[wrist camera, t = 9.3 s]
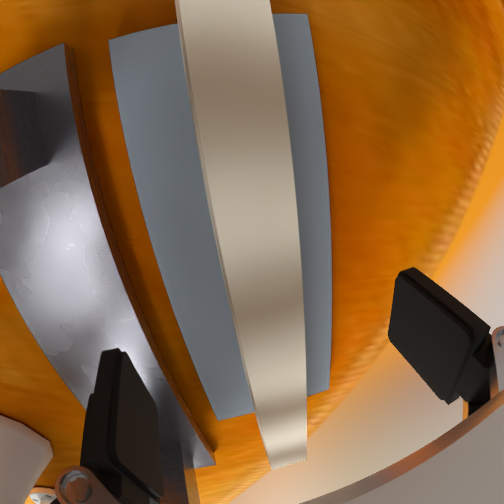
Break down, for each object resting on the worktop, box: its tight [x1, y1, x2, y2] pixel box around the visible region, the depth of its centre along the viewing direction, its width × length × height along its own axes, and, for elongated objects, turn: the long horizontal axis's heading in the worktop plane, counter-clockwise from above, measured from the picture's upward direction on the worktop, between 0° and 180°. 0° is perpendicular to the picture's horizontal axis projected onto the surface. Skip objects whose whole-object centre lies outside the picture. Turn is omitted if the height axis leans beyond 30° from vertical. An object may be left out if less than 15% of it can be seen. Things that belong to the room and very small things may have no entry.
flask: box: [0, 415, 54, 504], centre depth 12 cm, size 7×7×10 cm
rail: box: [175, 0, 307, 470], centre depth 12 cm, size 28×2×3 cm, turn 8°
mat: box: [108, 14, 332, 421], centre depth 14 cm, size 21×8×1 cm, turn 9°
